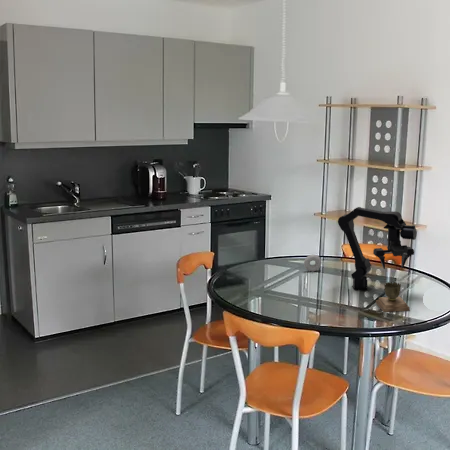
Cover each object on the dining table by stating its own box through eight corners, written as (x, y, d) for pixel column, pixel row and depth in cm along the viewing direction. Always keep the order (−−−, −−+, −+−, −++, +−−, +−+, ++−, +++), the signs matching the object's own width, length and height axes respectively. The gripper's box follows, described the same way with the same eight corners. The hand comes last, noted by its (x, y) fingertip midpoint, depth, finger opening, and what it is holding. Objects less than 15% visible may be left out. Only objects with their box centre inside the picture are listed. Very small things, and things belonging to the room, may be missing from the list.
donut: (305, 273, 328) (304, 256, 326) (303, 271, 331) (303, 254, 329) (322, 271, 329) (322, 254, 327) (320, 269, 333) (320, 253, 330)
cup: (388, 296, 276) (388, 280, 274) (402, 299, 271) (403, 283, 270) (381, 301, 270) (381, 285, 269) (396, 304, 266) (396, 287, 264)
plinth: (383, 311, 265) (383, 305, 265) (375, 302, 277) (376, 296, 277) (409, 310, 266) (409, 304, 265) (400, 301, 278) (400, 295, 277)
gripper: (380, 242, 275) (379, 274, 278) (418, 240, 275) (417, 272, 279) (373, 237, 286) (372, 267, 289) (410, 235, 286) (409, 265, 290)
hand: (393, 268), depth 286 cm, fingers open, 9 cm apart
